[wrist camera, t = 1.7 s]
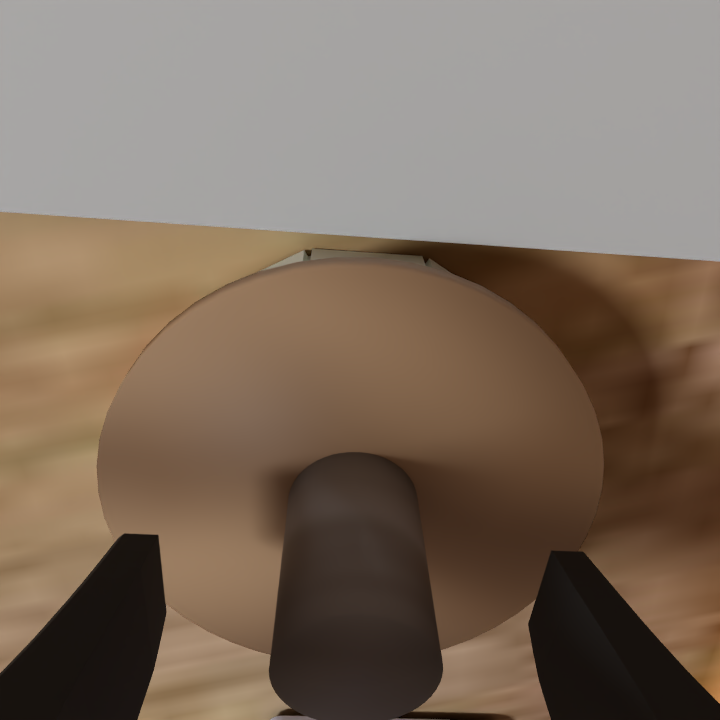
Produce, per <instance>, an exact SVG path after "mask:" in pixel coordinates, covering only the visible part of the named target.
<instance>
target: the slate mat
mask: <svg viewBox="0 0 720 720" xmlns="http://www.w3.org/2000/svg"><path fill="white" fill-rule="evenodd" d="M0 212H13V213H28V214H42V215H57V216H71V217H85V218H100V219H114V220H129V221H143V222H158V223H172V224H187V225H201V226H216V227H230V228H245V229H259V230H274V231H288V232H302V233H317V234H331V235H346V236H360V237H375V238H389V239H404V240H418V241H433V242H447V243H462V244H476V245H491V246H505V247H519V248H534V249H548V250H563V251H577V252H592V253H606V254H621V255H635V256H650V257H664V258H679V259H693V260H708V261H720V0H0Z"/></svg>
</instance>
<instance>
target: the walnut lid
mask: <svg viewBox="0 0 720 720" xmlns="http://www.w3.org/2000/svg"><path fill="white" fill-rule="evenodd" d="M603 473H604V455H603V443H602V435H601V432H600V428H599V424H598V420H597V416H596V412H595V410H594V407H593V405H592V403H591V401H590V399H589V396H588V394H587V392H586V390H585V388H584V385H583V384H582V382H581V381H580V379H579V378H578V376H577V374H576V373H575V371H574V370H573V368H572V367H571V365H570V364H569V362H568V361H567V359H566V358H565V356H564V355H563V353H562V352H561V351H560V349H559V348H558V346H557V345H556V344H555V343H554V342H553V341H552V339H551V338H550V337H549V336H548V335H547V334H546V333H545V332H544V331H543V330H542V329H541V328H540V327H539V326H538V324H537V323H536V322H534V321H533V320H532V319H530V318H529V317H528V316H527V315H525V314H524V313H523V312H522V311H520V310H519V309H518V308H517V307H515V306H514V305H513V304H512V303H510V302H508V301H507V300H505V299H503V298H502V297H500V296H498V295H496V294H495V293H493V292H491V291H490V290H488V289H486V288H484V287H483V286H481V285H479V284H476V283H474V282H471V281H469V280H466V279H464V278H461V277H459V276H457V275H454V274H452V273H449V272H446V271H443V270H439V269H435V268H431V267H427V266H424V265H420V264H416V263H412V262H405V261H398V260H390V259H382V258H375V257H333V258H325V259H317V260H308V261H300V262H295V263H291V264H287V265H283V266H279V267H275V268H271V269H267V270H263V271H260V272H257V273H255V274H252V275H250V276H247V277H245V278H242V279H239V280H237V281H234V282H232V283H229V284H227V285H225V286H223V287H221V288H220V289H218V290H216V291H214V292H213V293H211V294H209V295H207V296H205V297H204V298H202V299H200V300H198V301H197V302H195V303H194V304H192V305H191V306H190V307H189V308H187V309H186V310H185V311H183V312H182V313H181V314H179V315H178V316H177V317H175V318H174V319H173V320H171V321H170V322H169V323H168V324H167V325H166V326H165V327H164V328H163V329H162V330H161V331H160V332H159V333H158V334H157V335H156V336H155V337H154V338H153V339H152V340H151V342H150V343H149V344H148V345H147V346H146V347H145V349H144V350H143V351H142V353H141V354H140V356H139V357H138V359H137V360H136V361H135V363H134V364H133V366H132V367H131V369H130V370H129V372H128V373H127V375H126V377H125V378H124V380H123V382H122V383H121V385H120V387H119V389H118V391H117V393H116V395H115V397H114V399H113V401H112V403H111V406H110V408H109V410H108V412H107V415H106V418H105V422H104V425H103V429H102V432H101V436H100V440H99V449H98V459H97V478H98V492H99V497H100V501H101V505H102V509H103V513H104V517H105V520H106V522H107V525H108V527H109V530H110V532H111V534H112V537H113V539H114V541H116V540H117V539H118V538H119V537H120V536H121V535H123V534H124V533H128V534H152V535H158V536H159V545H160V555H161V565H162V574H163V584H164V594H165V603H166V604H167V605H168V606H170V607H171V608H172V609H174V610H175V611H176V612H178V613H179V614H180V615H182V616H183V617H184V618H186V619H188V620H189V621H191V622H193V623H194V624H196V625H198V626H200V627H201V628H203V629H205V630H206V631H208V632H210V633H213V634H215V635H217V636H219V637H221V638H223V639H226V640H228V641H230V642H232V643H235V644H238V645H241V646H244V647H247V648H249V649H252V650H255V651H258V652H262V653H266V654H270V655H271V657H270V666H269V677H270V681H271V684H272V687H273V689H274V690H275V692H276V694H277V695H278V696H279V698H280V699H281V700H282V701H283V702H284V703H286V704H287V705H288V706H289V707H291V708H292V709H294V710H295V711H297V712H299V713H301V714H303V715H305V716H307V717H310V718H313V719H316V720H392V719H395V718H397V717H400V716H403V715H405V714H407V713H409V712H411V711H413V710H414V709H416V708H418V707H419V706H420V705H422V704H423V703H424V702H426V701H427V700H428V699H429V698H430V697H431V696H432V694H433V693H434V692H435V690H436V689H437V687H438V685H439V683H440V681H441V678H442V673H443V663H442V656H441V650H443V649H446V648H449V647H451V646H454V645H457V644H459V643H462V642H465V641H467V640H470V639H472V638H474V637H476V636H478V635H480V634H482V633H484V632H486V631H489V630H491V629H493V628H495V627H496V626H498V625H500V624H501V623H503V622H504V621H506V620H508V619H509V618H511V617H513V616H514V615H516V614H517V613H519V612H520V611H521V610H523V609H524V608H525V607H526V606H528V605H529V604H530V603H532V602H533V601H534V600H536V598H537V594H538V591H539V588H540V585H541V582H542V578H543V575H544V572H545V569H546V566H547V562H548V559H549V556H550V553H551V550H552V551H578V550H579V548H580V547H581V545H582V543H583V542H584V540H585V538H586V536H587V534H588V531H589V529H590V527H591V524H592V522H593V520H594V517H595V515H596V511H597V507H598V504H599V500H600V496H601V492H602V484H603Z"/></svg>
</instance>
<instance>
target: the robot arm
mask: <svg viewBox="0 0 720 720" xmlns="http://www.w3.org/2000/svg"><path fill="white" fill-rule="evenodd" d="M165 617H166V603H165V594H164V584H163V574H162V565H161V555H160V545H159V536H158V535H152V534H128V533H124V534H123V535H121V536H120V537H119V538H118V539H117V540H116V541H115V543H114V544H113V545H112V546H111V548H110V549H109V550H108V552H107V553H106V554H105V555H104V557H103V558H102V559H101V560H100V562H99V563H98V564H97V565H96V567H95V568H94V569H93V570H92V572H91V573H90V574H89V575H88V577H87V578H86V579H85V580H84V581H83V583H82V584H81V585H80V586H79V587H78V589H77V590H76V591H75V592H74V593H73V594H72V596H71V597H70V598H69V599H68V600H67V601H66V603H65V604H64V605H63V606H62V607H61V608H60V609H59V611H58V612H57V613H56V614H55V615H54V616H53V617H52V618H51V620H50V621H49V622H48V623H47V624H46V625H45V626H44V628H43V629H42V630H41V631H40V632H39V633H38V634H37V635H36V636H35V638H34V639H33V640H32V641H31V642H30V643H29V644H28V645H27V646H26V647H25V648H24V649H23V650H22V651H21V652H20V653H19V654H18V655H17V656H16V658H15V659H14V660H13V661H12V662H11V663H10V664H9V665H8V666H7V667H6V668H5V669H4V670H3V671H2V672H1V673H0V720H137V719H138V716H139V713H140V710H141V707H142V704H143V701H144V698H145V695H146V692H147V689H148V686H149V683H150V680H151V677H152V674H153V671H154V667H155V662H156V658H157V654H158V649H159V645H160V640H161V636H162V631H163V626H164V622H165ZM528 626H529V631H530V637H531V642H532V648H533V653H534V658H535V663H536V668H537V673H538V678H539V682H540V685H541V688H542V692H543V695H544V698H545V701H546V705H547V708H548V711H549V714H550V717H551V720H720V704H719V703H718V702H717V701H716V700H715V699H714V698H713V697H712V696H711V695H710V694H709V693H708V692H707V691H706V690H705V689H704V688H703V687H702V686H701V685H700V684H699V683H698V682H697V680H696V679H695V678H694V677H693V676H692V675H691V674H690V673H689V672H688V671H687V670H686V669H685V668H684V667H683V666H682V665H681V664H680V663H679V661H678V660H677V659H676V658H675V657H674V656H673V655H672V654H671V653H670V652H669V650H668V649H667V648H666V647H665V646H664V645H663V644H662V643H661V642H660V640H659V639H658V638H657V637H656V636H655V635H654V634H653V633H652V632H651V630H650V629H649V628H648V627H647V626H646V625H645V624H644V622H643V621H642V620H641V619H640V618H639V617H638V616H637V614H636V613H635V612H634V611H633V610H632V608H631V607H630V606H629V605H628V604H627V603H626V601H625V600H624V599H623V598H622V597H621V596H620V594H619V593H618V592H617V591H616V590H615V589H614V587H613V586H612V585H611V584H610V583H609V581H608V580H607V579H606V578H605V577H604V576H603V574H602V573H601V572H600V571H599V570H598V568H597V567H596V566H595V565H594V564H593V563H592V561H591V560H590V559H589V558H588V557H587V556H586V554H585V553H584V552H577V551H552V550H551V553H550V556H549V559H548V562H547V566H546V569H545V572H544V575H543V578H542V582H541V585H540V588H539V591H538V594H537V598H536V601H535V604H534V607H533V610H532V614H531V617H530V620H529V623H528ZM270 720H316V719H313V718H310V717H307V716H284V715H282V716H276V717H273V718H272V719H270ZM392 720H448V719H407V718H395V719H392Z"/></svg>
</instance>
